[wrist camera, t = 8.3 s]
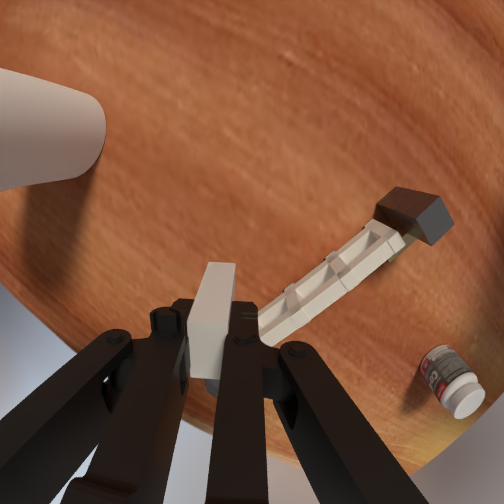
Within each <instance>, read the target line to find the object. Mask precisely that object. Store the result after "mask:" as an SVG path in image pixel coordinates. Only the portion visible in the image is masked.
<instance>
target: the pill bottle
mask: <svg viewBox="0 0 504 504" xmlns="http://www.w3.org/2000/svg"><path fill="white" fill-rule="evenodd" d="M420 371H421V374H422V376H423V377H424V379H425V380H426V382H427V383H428V385H429V386H430V388H431V389H432V391H433V392H434V394H435V395H436V397H437V398H438V400H439V402H440V403H441V405H442V406H443V407H444V408H446V409H449V410H450V412H451V413H452V415H453V416H454V417H455V418H456V419H463V418H465V417H467V416H469V415H470V414H472V413H473V412H474V411H475V410H476V409H477V408H478V407H479V406H480V405H481V403H482V402H483V400H484V397H485V391H484V390H483V388H482V387H481V385H480V384H479V383H478V380H477V376H476V375H475V373H474V372H473V371H472V370H471V369H470V368H469V367H468V365H467V364H466V363H465V362H464V361H463V360H462V359H461V357H460V356H459V355H458V354H457V353H456V352H455V351H454V349H453V348H452V347H450V346H449V345H440V346H438V347H436V348H434V349H432V350H431V351H430V352H429V353H428V354H427V355H426V356H425V358H424V359H423V361H422V363H421V368H420Z"/></svg>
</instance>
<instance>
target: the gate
mask: <svg viewBox="0 0 504 504" xmlns="http://www.w3.org/2000/svg"><path fill="white" fill-rule="evenodd" d="M364 227H365V228H364V229H363V230H362V231H361V232H360V233H358V234H357V235H356V236H355V237H354V238H352V239H351V240H350V241H349V242H347V243H346V244H345V245H344V246H342V247H341V248H340V249H339V250H337V251H336V252H335V251H333V252H331V253H330V254H329V255H328V256H326V257H325V259H326V260H325V261H324V262H322V263H321V264H320V265H319V266H317V267H316V268H315V269H313V270H312V271H311V272H310V273H308V274H307V275H306V276H304V277H303V278H302V279H301V280H299V281H298V282H297V283H295V284H294V283H292V284H291V285H289V286H288V287H287V288H285V289H284V293H282V294H281V295H280V296H278V297H277V298H276V299H274V300H273V301H272V302H270V303H269V304H268V305H266V306H265V307H264V308H262V309H261V310H260V311H258V327H259V337H260V339H261V341H262V342H263V343H264V344H266V345H268V346H271V347H272V346H274V345H275V344H277V343H278V342H279V341H281V340H282V339H284V338H285V337H287V336H288V335H290V334H291V333H292V332H294V331H295V330H297V329H298V328H301V327H302V326H303V325H305V324H306V323H308V322H309V321H310V320H311V319H312V318H313V317H315V316H316V315H317V314H319V313H320V312H322V311H323V310H324V309H326V308H327V307H328V306H330V305H331V304H332V303H334V302H335V301H336V300H337V299H339V298H340V297H341V296H343V295H344V294H345V293H347V292H348V291H350V290H352V289H353V288H354V287H355V286H357V285H358V284H359V283H360V282H361V281H362V280H363V279H364V278H366V277H367V276H368V275H369V274H371V273H372V272H373V271H374V270H375V269H377V268H378V267H379V266H380V265H381V264H383V263H384V262H385V261H386V260H387V259H389V258H390V257H391V256H392V255H393V254H395V253H397V252H398V251H399V250H400V249H401V248H403V247H404V246H405V245H406V244H405V243H404V241H403V239H402V238H401V236H400V234H399V233H398V232H397V231H396V230H394V229H392V228H390V227H388V226H386V225H384V224H382V223H380V222H378V221H376V220H374V219H372V220H371V221H369V222H368V223H367V224H366V225H365V226H364Z"/></svg>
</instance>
